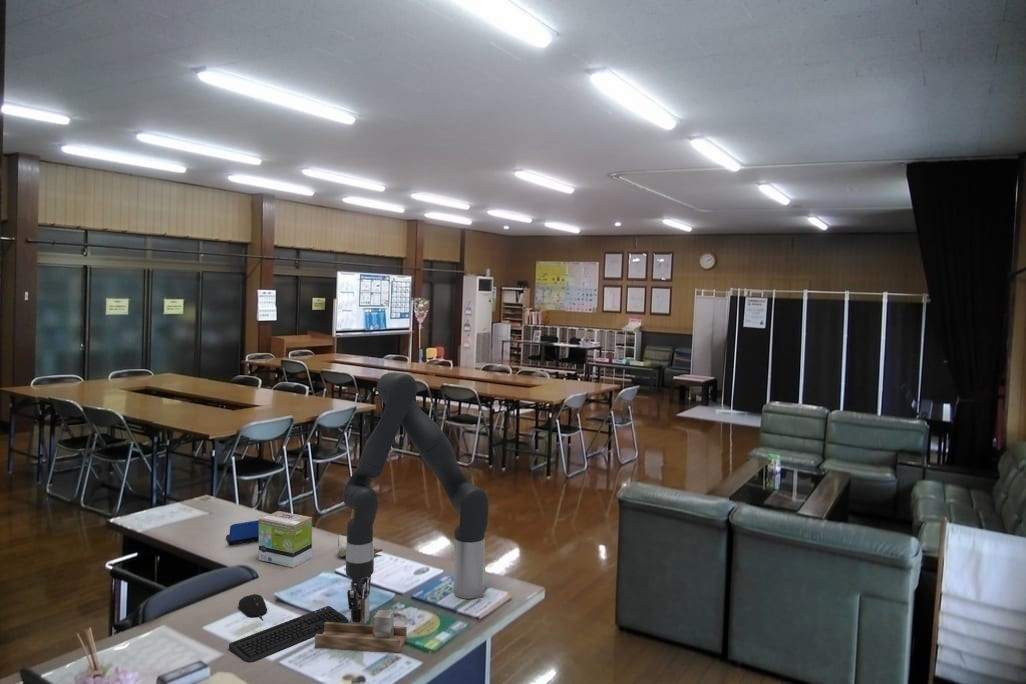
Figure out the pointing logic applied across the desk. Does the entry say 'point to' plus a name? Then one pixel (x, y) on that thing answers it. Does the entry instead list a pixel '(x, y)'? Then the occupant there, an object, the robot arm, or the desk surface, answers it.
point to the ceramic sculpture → (343, 542)
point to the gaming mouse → (253, 606)
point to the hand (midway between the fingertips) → (359, 616)
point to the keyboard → (285, 634)
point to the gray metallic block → (363, 610)
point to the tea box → (285, 538)
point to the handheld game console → (243, 533)
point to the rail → (364, 635)
